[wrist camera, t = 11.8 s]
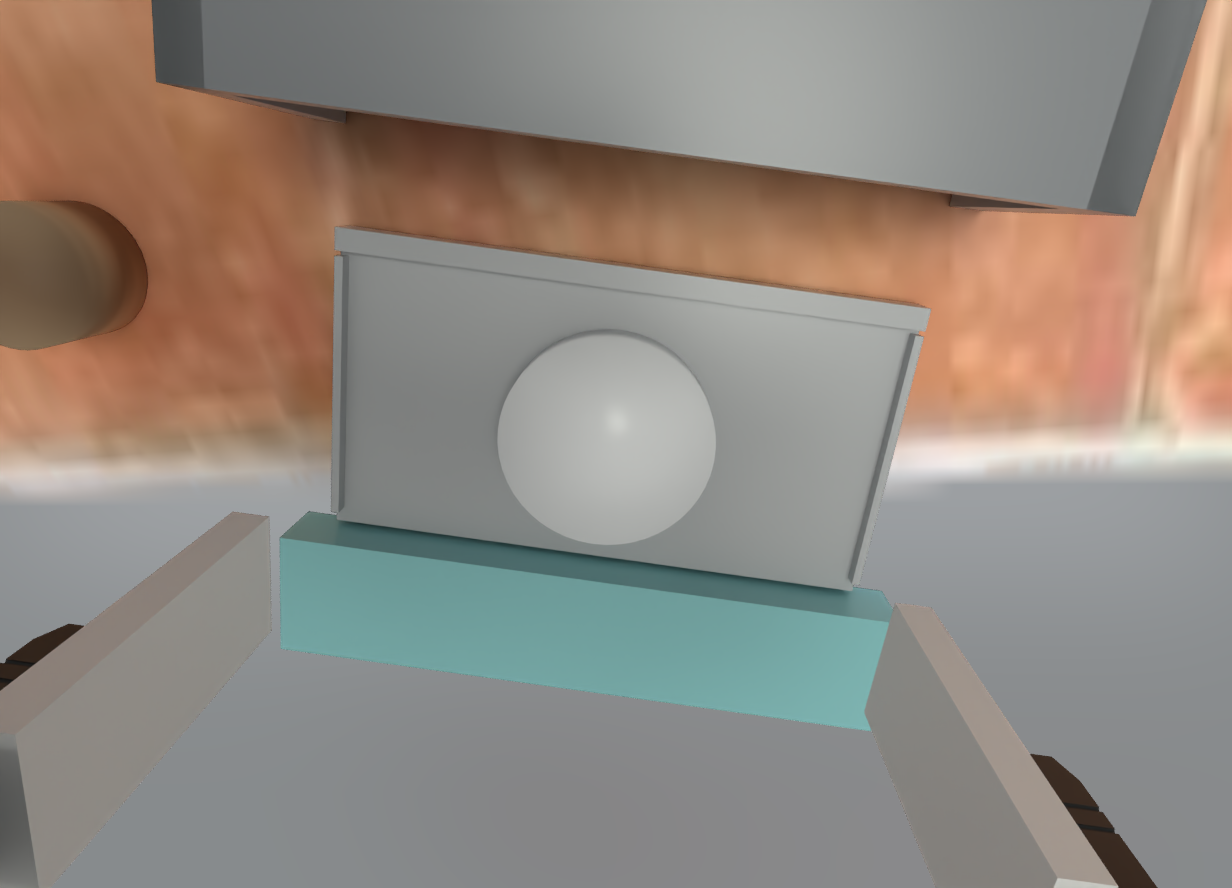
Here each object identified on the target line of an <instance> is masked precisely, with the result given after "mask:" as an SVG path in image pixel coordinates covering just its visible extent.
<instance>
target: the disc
mask: <svg viewBox="0 0 1232 888" xmlns="http://www.w3.org/2000/svg"><path fill="white" fill-rule="evenodd" d="M497 444H498V454H499V459H500V463H501V467H502V471H503V473H504V476H505V478H506V481H507V483H508V485H509V487H510V489H511V490H512V492H513V494H514V495H515V497H516V498H517V499H518V501H519V502H520V503H521V505H522V506H523V507H524V508H525V509H526V510H527V511H528V512H529V513H530V514H531V515H532V516H533V517H534V518H535V519H537V520H538V521H539V522H540V523H542V524H543V525H545V526H546V527H548V528H549V529H551V530H553V531H555V532H557V533H559V534H561V535H563V536H565V537H568V538H571V539H574V540H577V541H581V542H586V543H590V544H600V545H619V544H626V543H632V542H636V541H640V540H643V539H646V538H649V537H651V536H654V535H656V534H658V533H660V532H662V531H664V530H665V529H667V528H669V527H670V526H672V525H673V524H674V523H676V522H677V521H678V520H680V519H681V518H682V517H683V516H684V515H685V514H686V513H687V512H688V511H689V510H690V509H691V508H692V507H693V505H694V504H695V503H696V502H697V500H698V499H699V497H700V496H701V494H702V492H703V491H704V489H705V487H706V485H707V482H708V480H709V478H710V475H711V472H712V468H713V464H714V460H715V452H716V433H715V427H714V420H713V417H712V414H711V410H710V407H709V403H708V400H707V397H706V394H705V392H704V390H703V388H702V386H701V383H700V382H699V380H698V379H697V377H696V376H695V374H694V372H693V371H692V370H691V369H690V368H689V366H688V365H687V364H686V363H685V362H684V361H683V360H682V359H681V358H680V357H679V356H678V355H677V354H675V353H674V352H673V351H671V350H670V349H669V348H667V347H666V346H664V345H663V344H661V343H659V342H657V341H655V340H653V339H651V338H649V337H646V336H643V335H640V334H637V333H633V332H628V331H624V330H613V329H603V330H591V331H586V332H581V333H578V334H575V335H571V336H568V337H566V338H564V339H562V340H560V341H558V342H556V343H554V344H552V345H551V346H549V347H548V348H546V349H545V350H543V351H542V352H541V353H540V354H539V355H538V356H536V357H535V358H534V359H533V360H532V361H531V362H530V364H529V365H528V366H527V367H526V368H525V369H524V371H523V372H522V374H521V375H520V376H519V378H518V379H517V381H516V382H515V384H514V385H513V387H512V388H511V390H510V392H509V394H508V396H507V398H506V400H505V402H504V405H503V408H502V411H501V415H500V419H499V425H498V438H497Z"/></svg>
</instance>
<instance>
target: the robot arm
mask: <svg viewBox="0 0 1232 888" xmlns="http://www.w3.org/2000/svg"><path fill="white" fill-rule="evenodd" d="M270 574H271V573H270V525H269V517H268V516H261V515H253V514H246V513H239V512H232V513H230V514H229V515H228V516H227V517H225V518H224V519H223V520H221V521H220V522H219V523H218V524H216V525H215V526H214V527H213V528H211V529H210V530H208V531H207V532H206V533H205V534H203V535H202V536H201V537H199V538H198V539H197V540H195V541H194V542H193V543H192V544H190V545H189V546H188V547H186V548H185V549H184V550H182V551H181V552H180V553H179V554H177V555H176V556H175V557H173V558H172V559H171V560H169V561H168V562H167V563H166V564H164V565H163V566H162V567H160V568H159V569H158V570H157V571H155V572H154V573H153V574H151V575H150V576H149V577H147V578H146V579H145V580H144V581H142V582H141V583H140V584H138V585H137V586H136V587H134V588H133V589H132V590H131V591H129V592H128V593H127V594H125V595H124V596H123V597H122V598H120V599H119V600H118V601H116V602H115V603H114V604H113V605H111V606H110V607H108V608H107V609H106V610H105V611H103V612H102V613H101V614H99V615H98V616H97V617H96V618H94V619H93V620H92V621H90V622H89V623H88V624H87V625H85V626H81V625H74V624H67V625H65V626H63V627H60V628H58V629H56V630H53V631H51V632H49V633H47V634H44V635H42V636H40V637H37V638H35V639H33V640H32V641H30V642H29V643H27V644H26V645H25V646H24V647H22V648H21V649H19V650H18V651H16V652H15V653H14V654H12V655H11V656H10V657H8V658H7V659H6V662H5V663H0V888H51V887H52V885H53V884H54V883H55V882H56V881H57V880H58V879H59V877H60V876H61V875H62V874H63V873H64V872H65V870H66V869H67V868H68V867H69V866H70V865H71V863H72V862H73V861H74V860H75V859H76V858H77V856H78V855H79V854H80V853H81V852H82V851H83V849H84V848H85V847H86V846H87V845H88V844H89V843H90V841H91V840H92V839H93V838H94V837H95V835H96V834H97V833H98V832H99V831H100V830H101V829H102V827H103V826H104V825H105V824H106V823H107V822H108V820H109V819H110V818H111V817H112V816H113V815H114V813H115V812H116V811H117V810H118V809H119V808H120V806H121V805H122V804H123V803H124V802H125V801H126V799H127V798H128V797H129V796H130V795H131V794H132V792H133V791H134V790H135V789H136V788H137V787H138V786H139V784H140V783H141V782H142V781H143V780H144V779H145V777H146V776H147V775H148V774H149V773H150V772H151V770H152V769H153V768H154V767H155V766H156V765H157V763H158V762H159V761H160V760H161V759H162V758H163V756H164V755H165V754H166V753H167V752H168V751H169V749H170V748H171V747H172V746H173V745H174V743H175V742H176V741H177V740H178V739H179V738H180V737H181V735H182V734H183V733H184V732H185V731H186V730H187V728H188V727H189V726H190V725H191V724H192V723H193V722H194V720H195V719H196V718H197V717H198V716H199V715H200V713H201V712H202V711H203V710H204V709H205V708H206V706H207V705H208V704H209V703H210V702H211V701H212V699H213V698H214V697H215V696H216V695H217V694H218V692H219V691H220V690H221V689H222V688H223V687H224V685H225V684H226V683H227V682H228V681H229V680H230V678H231V677H232V676H233V675H234V674H235V673H236V672H237V670H238V669H239V668H240V667H241V666H242V665H243V663H244V662H245V661H246V660H247V659H248V657H249V656H250V655H251V654H252V653H253V652H254V650H255V649H256V648H257V647H258V646H259V645H260V644H261V642H262V641H263V640H264V639H265V638H266V637H267V635H268V634H269V633H270V632H271V631H272V622H271V575H270ZM864 713H865V716H866V718H867V721H868V723H869V726H870V728H871V730H872V733H873V735H874V738H875V740H876V743H877V745H878V747H879V750H880V752H881V755H882V757H883V760H884V762H885V765H886V767H887V770H888V772H889V775H890V777H891V779H892V782H893V784H894V787H895V789H896V792H897V794H898V797H899V799H900V802H901V804H902V807H903V809H904V811H905V814H906V816H907V819H908V821H909V824H910V826H911V829H912V831H913V834H914V836H915V838H916V841H917V843H918V846H919V848H920V851H921V853H922V855H923V858H924V861H925V863H926V865H927V868H928V870H929V873H930V875H931V878H932V880H933V882H934V885H935V887H936V888H1157V887H1156V885H1155V884H1154V882H1153V881H1152V880H1151V878H1150V877H1149V876H1148V874H1147V873H1146V871H1145V870H1144V869H1143V867H1142V866H1141V864H1140V863H1139V862H1138V860H1137V859H1136V858H1135V856H1134V855H1133V854H1132V852H1131V851H1130V849H1129V848H1128V847H1127V845H1126V844H1125V842H1124V841H1123V840H1122V838H1121V837H1120V835H1119V834H1115V832H1114V827H1113V826H1112V825H1111V823H1110V822H1109V821H1108V819H1107V818H1106V816H1105V815H1104V813H1103V812H1099V807H1098V805H1097V804H1096V802H1095V801H1094V800H1093V798H1092V797H1091V796H1090V794H1089V793H1088V792H1087V790H1086V789H1085V787H1084V786H1083V784H1082V783H1081V782H1080V781H1079V780H1078V779H1077V778H1076V777H1075V776H1074V775H1072V774H1071V773H1070V772H1069V771H1068V770H1066V769H1065V768H1064V767H1063V766H1062V765H1061V764H1059V763H1058V762H1057V761H1056V760H1055V759H1054V758H1052V757H1049V756H1042V755H1035V754H1029V752H1028V751H1027V749H1026V748H1025V746H1024V745H1023V743H1022V742H1021V740H1020V739H1019V737H1018V736H1017V734H1016V733H1015V732H1014V730H1013V728H1012V727H1011V725H1010V724H1009V722H1008V721H1007V719H1006V718H1005V716H1004V715H1003V714H1002V712H1001V711H1000V709H999V707H998V706H997V705H996V703H995V702H994V700H993V699H992V697H991V696H990V694H989V693H988V691H987V690H986V688H985V687H984V685H983V684H982V682H981V681H980V679H979V678H978V676H977V675H976V673H975V672H974V671H973V669H972V667H971V666H970V664H969V663H968V661H967V660H966V658H965V657H964V655H963V654H962V652H961V651H960V649H959V648H958V646H957V645H956V643H955V642H954V640H953V639H952V637H951V636H950V634H949V633H948V631H947V630H946V628H945V627H944V625H943V624H942V622H941V621H940V620H939V618H938V617H937V615H936V614H935V612H934V611H933V609H932V608H930V607H922V606H915V605H907V604H901V603H895V605H894V608H893V612H892V615H891V619H890V622H889V626H888V629H887V633H886V636H885V640H884V643H883V647H882V651H881V654H880V658H879V661H878V665H877V668H876V672H875V675H874V679H873V682H872V686H871V689H870V693H869V696H868V700H867V703H866V707H865V710H864Z"/></svg>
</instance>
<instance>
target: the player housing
mask: <svg viewBox="0 0 1232 888" xmlns="http://www.w3.org/2000/svg"><path fill="white" fill-rule="evenodd" d="M1206 2H1207V0H152V16H153V34H154V53H155V71H156V82H159V83H163V84H167V85H172V86H176V87H180V88H184V89H188V90H193V91H197V92H201V93H205V94H210V95H214V96H218V97H222V98H226V99H231V100H235V101H239V102H243V103H248V104H252V105H256V106H260V107H264V108H269V109H273V110H277V111H281V112H286V113H290V114H294V115H298V116H302V117H307V118H311V119H317V120H324V121H331V122H339V123H346V111H351V112H359V113H366V114H373V115H380V116H388V117H395V118H402V119H410V120H417V121H424V122H431V123H439V124H446V125H453V126H460V127H468V128H475V129H482V130H490V131H497V132H504V133H511V134H519V135H526V136H533V137H541V138H548V139H555V140H562V141H570V142H577V143H584V144H591V145H599V146H606V147H613V148H621V149H628V150H635V151H642V152H650V153H657V154H664V155H672V156H679V157H686V158H693V159H701V160H708V161H715V162H723V163H730V164H737V165H744V166H752V167H759V168H766V169H773V170H781V171H788V172H795V173H803V174H810V175H817V176H824V177H832V178H839V179H846V180H854V181H861V182H868V183H875V184H883V185H890V186H897V187H904V188H912V189H919V190H926V191H934V192H941V193H948V194H952V197H951V201H950V205H949V206H950V207H957V208H964V209H972V210H979V211H997V212H1026V213H1054V214H1083V215H1111V216H1136V213H1137V210H1138V207H1139V204H1140V201H1141V198H1142V195H1143V192H1144V189H1145V186H1146V183H1147V180H1148V177H1149V174H1150V171H1151V168H1152V165H1153V162H1154V159H1155V156H1156V153H1157V149H1158V146H1159V143H1160V140H1161V137H1162V134H1163V131H1164V128H1165V125H1166V122H1167V119H1168V116H1169V113H1170V110H1171V107H1172V104H1173V101H1174V98H1175V95H1176V92H1177V89H1178V86H1179V83H1180V80H1181V77H1182V74H1183V71H1184V68H1185V65H1186V62H1187V59H1188V56H1189V53H1190V50H1191V47H1192V44H1193V41H1194V38H1195V35H1196V32H1197V29H1198V26H1199V23H1200V20H1201V17H1202V14H1203V11H1204V8H1205V5H1206Z"/></svg>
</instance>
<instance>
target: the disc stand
mask: <svg viewBox="0 0 1232 888" xmlns="http://www.w3.org/2000/svg"><path fill="white" fill-rule="evenodd" d="M146 293H147V270H146V266H145V262H144V259H143V256H142V253H141V251H140V249H139V247H138V245H137V243H136V242H135V240H134V239H133V237H132V235H131V234H130V233H129V232H128V231H127V229H126V228H125V227H124V226H123V225H122V224H121V223H120V222H119V221H118V220H116V219H115V218H114V217H113V216H111V215H110V214H108V213H107V212H105V211H104V210H102V209H100V208H98V207H96V206H93V205H90V204H87V203H83V202H78V201H0V345H2V346H5V347H9V348H13V349H18V350H38V349H42V348H47V347H51V346H55V345H59V344H63V343H67V342H71V341H75V340H80V339H84V338H88V337H92V336H96V335H100V334H104V333H108V332H112V331H115V330H118V329H120V328H122V327H124V326H126V325H127V324H128V323H129V322H131V321H132V320H133V319H134V318H135V317H136V315H137V314H138V313H139V311H140V310H141V308H142V305H143V303H144V301H145V297H146Z"/></svg>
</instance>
